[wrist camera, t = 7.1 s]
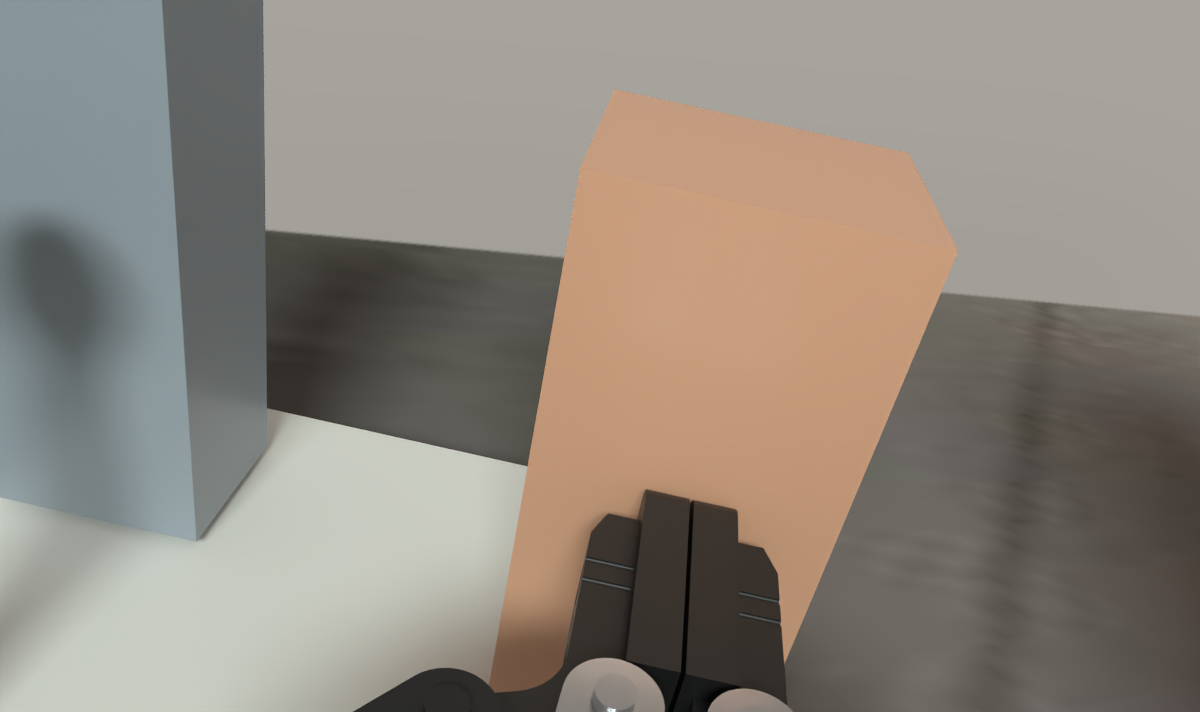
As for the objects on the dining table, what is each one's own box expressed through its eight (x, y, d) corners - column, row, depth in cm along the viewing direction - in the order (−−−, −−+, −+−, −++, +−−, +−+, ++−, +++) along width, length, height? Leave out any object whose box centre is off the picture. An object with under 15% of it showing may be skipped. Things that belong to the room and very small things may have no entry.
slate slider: (196, 541, 23) (160, -15, 16) (-2, 497, 23) (-121, -76, 16) (267, 445, 26) (262, -46, 19) (95, 407, 26) (29, -96, 19)
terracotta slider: (715, 828, 19) (957, 250, 12) (472, 773, 19) (580, 168, 12) (717, 671, 22) (909, 152, 15) (513, 624, 22) (614, 89, 15)
